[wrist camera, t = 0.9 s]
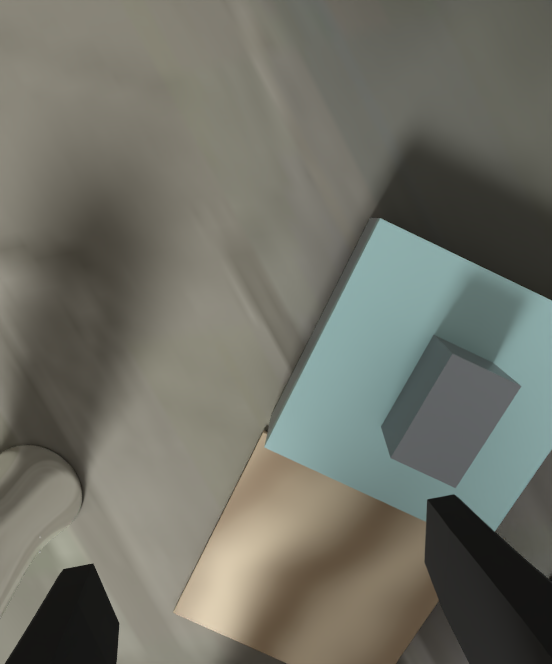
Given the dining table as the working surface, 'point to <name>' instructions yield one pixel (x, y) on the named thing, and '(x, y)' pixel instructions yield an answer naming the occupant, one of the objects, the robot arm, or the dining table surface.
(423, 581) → the cork pad
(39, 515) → the beer glass
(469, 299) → the lid
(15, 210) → the dining table surface
